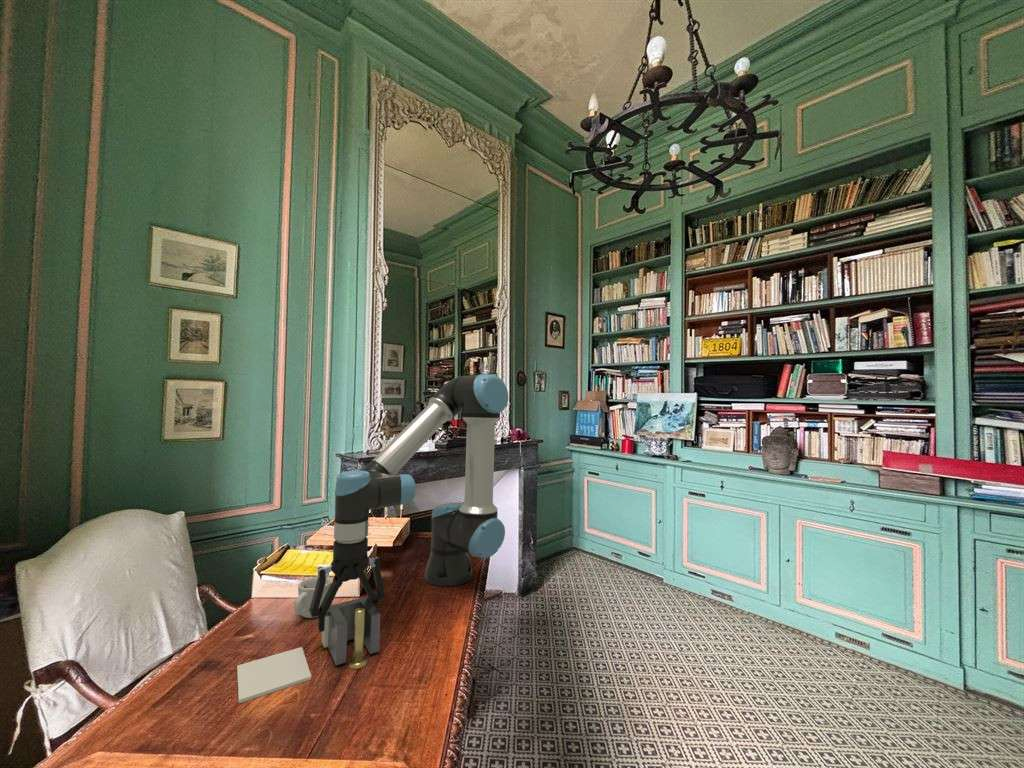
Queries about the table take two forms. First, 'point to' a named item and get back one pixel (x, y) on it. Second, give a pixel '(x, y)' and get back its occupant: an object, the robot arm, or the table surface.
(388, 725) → the table surface
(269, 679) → the pad
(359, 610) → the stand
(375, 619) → the grey u-shaped block
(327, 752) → the table surface
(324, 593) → the cup
